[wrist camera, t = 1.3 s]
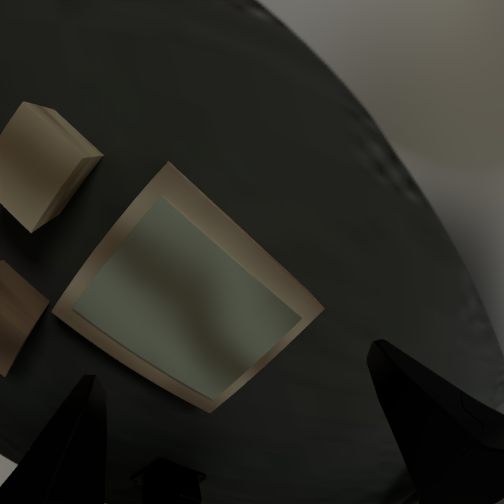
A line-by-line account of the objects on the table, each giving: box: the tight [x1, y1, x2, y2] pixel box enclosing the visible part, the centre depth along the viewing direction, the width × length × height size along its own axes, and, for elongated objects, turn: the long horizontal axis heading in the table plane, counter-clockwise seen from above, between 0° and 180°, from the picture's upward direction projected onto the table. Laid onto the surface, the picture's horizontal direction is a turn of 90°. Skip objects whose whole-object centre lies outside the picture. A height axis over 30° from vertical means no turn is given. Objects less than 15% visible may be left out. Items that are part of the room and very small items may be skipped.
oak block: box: [0, 101, 104, 233], centre depth 15 cm, size 5×5×5 cm
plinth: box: [51, 161, 325, 413], centre depth 21 cm, size 12×14×3 cm
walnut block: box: [0, 260, 50, 377], centre depth 17 cm, size 5×5×5 cm
